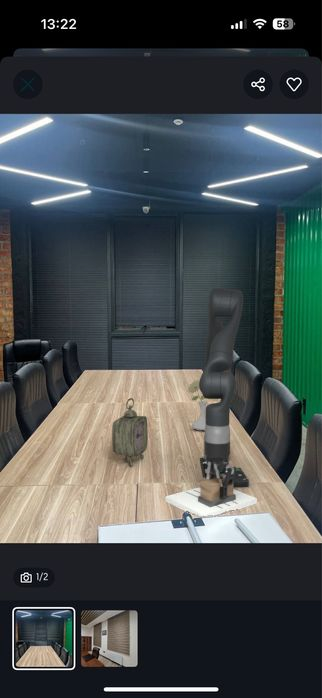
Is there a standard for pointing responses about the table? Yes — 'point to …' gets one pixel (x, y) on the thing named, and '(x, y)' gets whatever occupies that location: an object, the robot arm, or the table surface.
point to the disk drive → (239, 479)
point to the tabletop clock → (130, 434)
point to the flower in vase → (201, 421)
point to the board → (190, 503)
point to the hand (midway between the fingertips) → (217, 495)
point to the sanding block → (214, 493)
